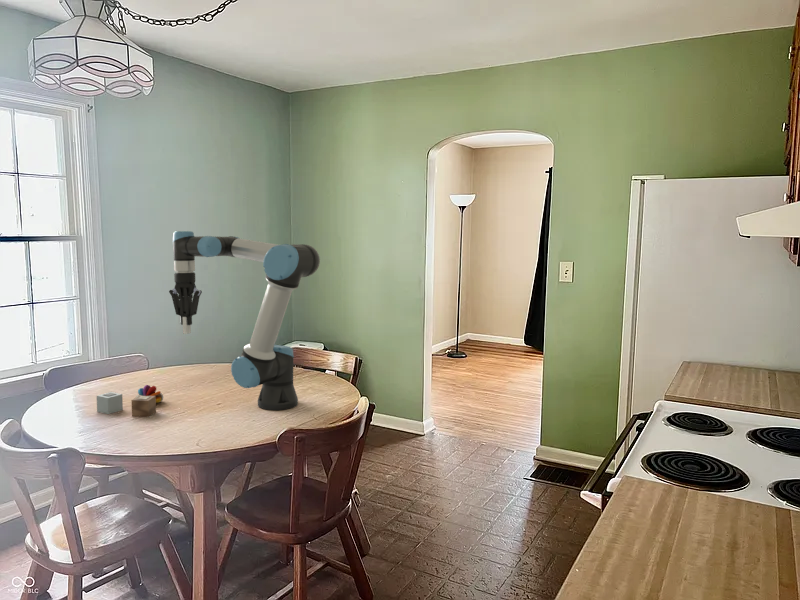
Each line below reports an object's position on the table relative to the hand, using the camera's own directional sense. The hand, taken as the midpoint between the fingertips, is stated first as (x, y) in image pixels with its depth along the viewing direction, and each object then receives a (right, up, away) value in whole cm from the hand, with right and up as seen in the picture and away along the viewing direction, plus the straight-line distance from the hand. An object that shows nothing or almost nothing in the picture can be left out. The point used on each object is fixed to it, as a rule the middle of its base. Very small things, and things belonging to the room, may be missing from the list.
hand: (186, 333), depth 227 cm
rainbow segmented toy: (-14, -27, -2) cm, 30 cm away
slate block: (-24, -28, -12) cm, 38 cm away
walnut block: (-10, -28, -15) cm, 33 cm away
